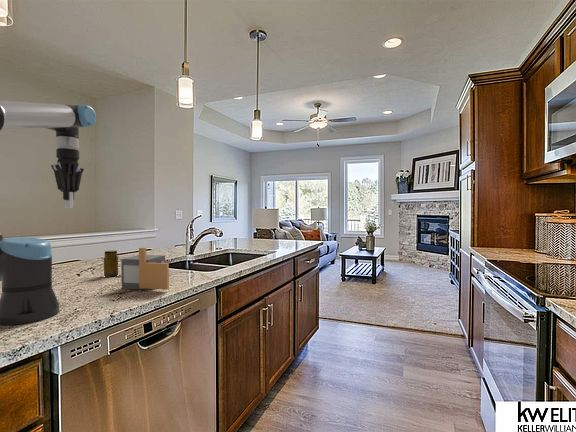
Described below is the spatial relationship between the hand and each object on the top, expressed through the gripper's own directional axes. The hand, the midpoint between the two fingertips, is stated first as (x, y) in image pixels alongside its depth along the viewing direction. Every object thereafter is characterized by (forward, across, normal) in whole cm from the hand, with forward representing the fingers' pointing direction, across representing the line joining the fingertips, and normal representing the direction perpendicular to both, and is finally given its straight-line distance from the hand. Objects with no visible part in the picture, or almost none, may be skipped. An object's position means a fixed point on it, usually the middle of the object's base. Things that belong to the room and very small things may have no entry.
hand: (69, 208), depth 127 cm
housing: (+32, -10, +26) cm, 43 cm away
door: (+31, -3, +35) cm, 47 cm away
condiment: (+33, -25, -1) cm, 41 cm away
